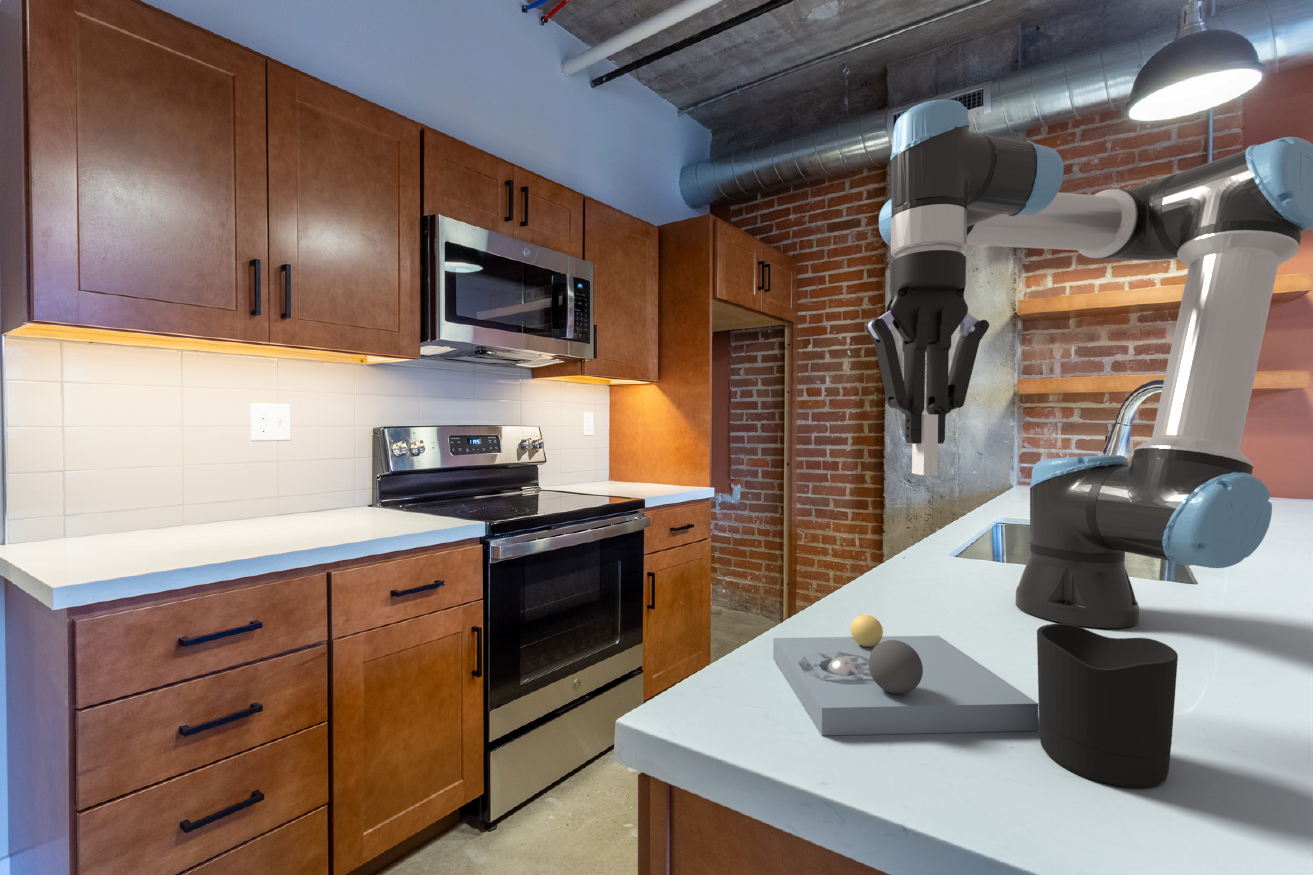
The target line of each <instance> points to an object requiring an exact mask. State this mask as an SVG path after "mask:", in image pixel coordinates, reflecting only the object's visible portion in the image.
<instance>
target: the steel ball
mask: <svg viewBox="0 0 1313 875" xmlns="http://www.w3.org/2000/svg"><path fill="white" fill-rule="evenodd" d="M826 672H828V673H830V674H834V675H840V676H857V675H860V674H861V671H860V669H859V667H858V665H857V664H856V663H855V662H854V661H853V660H851V659H849V658H847V657H837V658H835V659H833V660H832V661H831V662H830V663H829V664H828V667H827V670H826Z"/></svg>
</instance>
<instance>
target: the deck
mask: <svg viewBox="0 0 1313 875" xmlns="http://www.w3.org/2000/svg"><path fill="white" fill-rule="evenodd" d="M887 640H897V641H901V642H904V643H906V644H908V645H909V646H911V647H912V648H913V649H914V650H915V651H916V652H917V654H918V655H919V657H920V659H921V662H922V666H923V675H922V678H921V681H920V683H919V684H918V686H917V687H916V688H915V689H913V690H912V691H910V692H908V693H904V694H894V693H890V692H887V691H885V690H884V689H882V688H881V687H880V686H878V685H877V684H876V682H875V681H874V680H873V678H872V676H871V674H870V671H869V657H870V654H871V652H872V650H873V649H874V648H875V647H876V646H877V645H878V644H880V643H881V642H884V641H887ZM878 644H876V645H875V646H871V647H865V646H862V645H860V644H858V643H857V642H856V641H855V640H854V639H853V637H852V636H830V637H829V636H827V637H823V636H822V637H821V636H820V637H819V636H817V637H811V636H810V637H773V644H772V645H773V649H772V650H773V651H772V652H773V653H772V654H773V655H772V656H773V658H772V660H773V661H774V662H775V664H776V665H777V667H778V668H779V671H780V672H781V673H782V675H783V677H784V679H785V680H786V681H787V683H788V684H789V686H790V688H791V689H792V692H794V694H795V696H796V697H797V699H798V700H799V702H800V703H801V705H802V707H803V708H804V710H805V711H806V714H808V716H809V718H810V720H811V721H812V723H813V725H814V726H815V727H816V729H817V731H818V732H819V733H820V736H860V735H861V736H862V735H864V736H865V735H906V734H907V735H908V734H910V735H911V734H912V735H914V734H945V733H946V734H949V733H952V734H954V733H989V732H990V733H993V732H1000V733H1001V732H1030V731H1031V732H1037V731H1039V702H1037V701H1036V700H1034V699H1032V697H1030V696H1028V695H1026V694H1025V693H1024V692H1022V691H1020V689H1018V688H1016V686H1015V687H1014V685H1012V684H1010V683H1009V682H1008V681H1006V680H1004V679H1003V678H1002V677H1000V676H999V675H997V674H996V673H995V672H992V671H991V670H990V669H988V668H987V667H985V666H984V665H982V664H981V663H979V662H978V661H976V659H973V658H972V657H971V656H969V655H968V654H966V653H965V652H963V651H962V650H961V649H959V648H957V647H956V646H954V645H953V644H952V643H950V642H948V641H947V640H946V639H944V638H943V637H941V636H939V635H900V636H899V635H893V636H888V635H887V636H883V635H882V639H881V640H880V642H879V643H878ZM837 657H847V658H849V659H851V660H853V661H854V662H855V663H856V664H857V665H858V667H859V669H860V671H861V674H860V675H857V676H840V675H834V674H830V673H828V672H826V670H827V667H828V664H829V663H830V662H831V661H832V660H833V659H835V658H837Z"/></svg>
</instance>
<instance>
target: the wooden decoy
mask: <svg viewBox="0 0 1313 875" xmlns="http://www.w3.org/2000/svg"><path fill="white" fill-rule="evenodd" d="M850 635H851V637H853V639H854V640H855V641H856V642H857V643H858V644H860V645H862V646H865V647H871V646H875V645H876V644H878V643H879V642H880V640H881V639H882V636H883V635H884V630H883V626H882V624H881V622H880V621H879V620H878V619H877V618H876V617H874V616H872V615H870V614H861V615H858V616H857V617H855V618H854V619H853V620H852V622H851V624H850Z"/></svg>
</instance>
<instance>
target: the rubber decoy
mask: <svg viewBox="0 0 1313 875" xmlns="http://www.w3.org/2000/svg"><path fill="white" fill-rule="evenodd" d="M869 671H870V674H871V676H872V678H873V680H874V681H875V682H876V684H877V685H878V686H880V687H881V688H882V689H884V690H885V691H887V692H890V693H894V694H904V693H908V692H910V691H912V690H913V689H915V688H916V687H917V686H918V684H919V683H920V681H921V678H922V675H923V666H922V662H921V659H920V657H919V655H918V654H917V652H916V651H915V650H914V649H913V648H912V647H911V646H909V645H908V644H906V643H904V642H901V641H897V640H887V641H884V642H881V643H880V644H878V645H877V646H876V647H875V648H874V649H873V650H872V652H871V654H870V657H869Z"/></svg>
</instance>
